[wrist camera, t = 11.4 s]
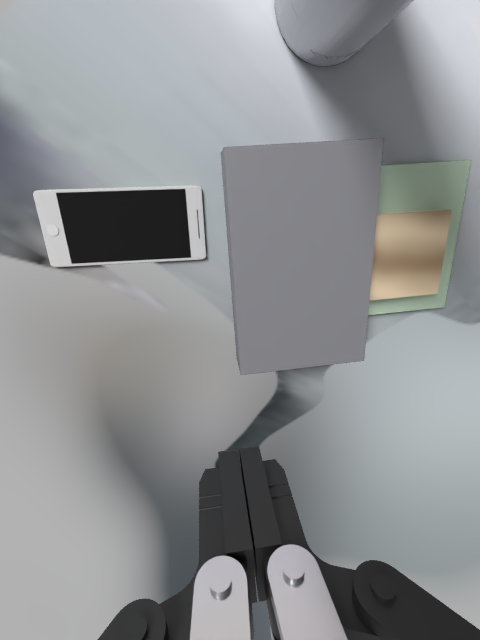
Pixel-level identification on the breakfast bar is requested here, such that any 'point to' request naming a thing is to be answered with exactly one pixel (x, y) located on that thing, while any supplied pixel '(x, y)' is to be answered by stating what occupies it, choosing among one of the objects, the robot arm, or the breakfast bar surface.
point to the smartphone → (121, 225)
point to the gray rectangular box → (301, 250)
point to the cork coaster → (409, 253)
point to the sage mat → (420, 195)
